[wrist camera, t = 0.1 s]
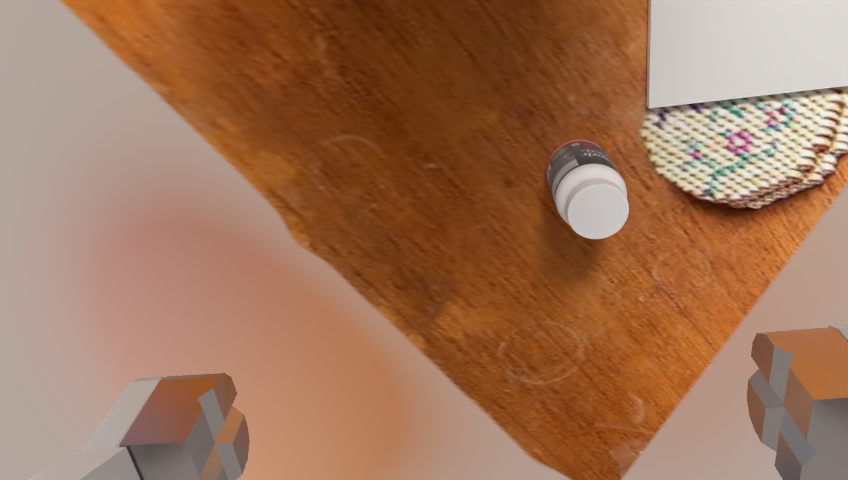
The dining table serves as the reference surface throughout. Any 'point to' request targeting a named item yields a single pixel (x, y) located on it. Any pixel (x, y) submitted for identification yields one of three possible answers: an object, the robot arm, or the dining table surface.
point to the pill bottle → (587, 189)
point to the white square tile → (743, 48)
